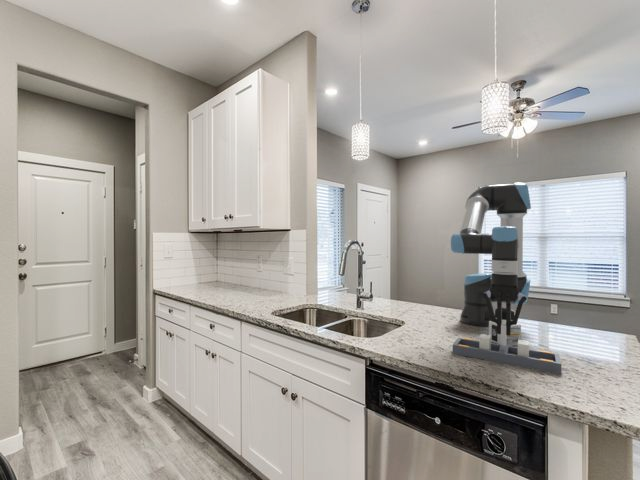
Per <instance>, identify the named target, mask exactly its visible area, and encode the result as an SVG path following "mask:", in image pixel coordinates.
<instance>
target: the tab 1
mask: <svg viewBox="0 0 640 480" xmlns="http://www.w3.org/2000/svg"><path fill="white" fill-rule="evenodd" d="M478 339H479V340H478V341H479V348H480V349H485V350H491V343H492V341H491V335H489V334H485V333H481V334H480V336H479V338H478Z"/></svg>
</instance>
